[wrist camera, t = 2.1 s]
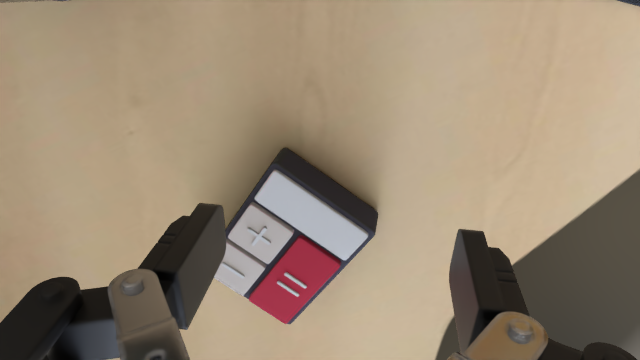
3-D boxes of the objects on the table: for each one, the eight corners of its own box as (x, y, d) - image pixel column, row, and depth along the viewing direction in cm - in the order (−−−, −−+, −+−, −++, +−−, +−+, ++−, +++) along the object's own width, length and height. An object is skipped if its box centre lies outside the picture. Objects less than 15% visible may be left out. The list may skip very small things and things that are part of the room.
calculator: (195, 272, 44) (270, 164, 37) (213, 247, 48) (284, 145, 41) (287, 332, 45) (376, 238, 38) (297, 303, 49) (380, 212, 42)
